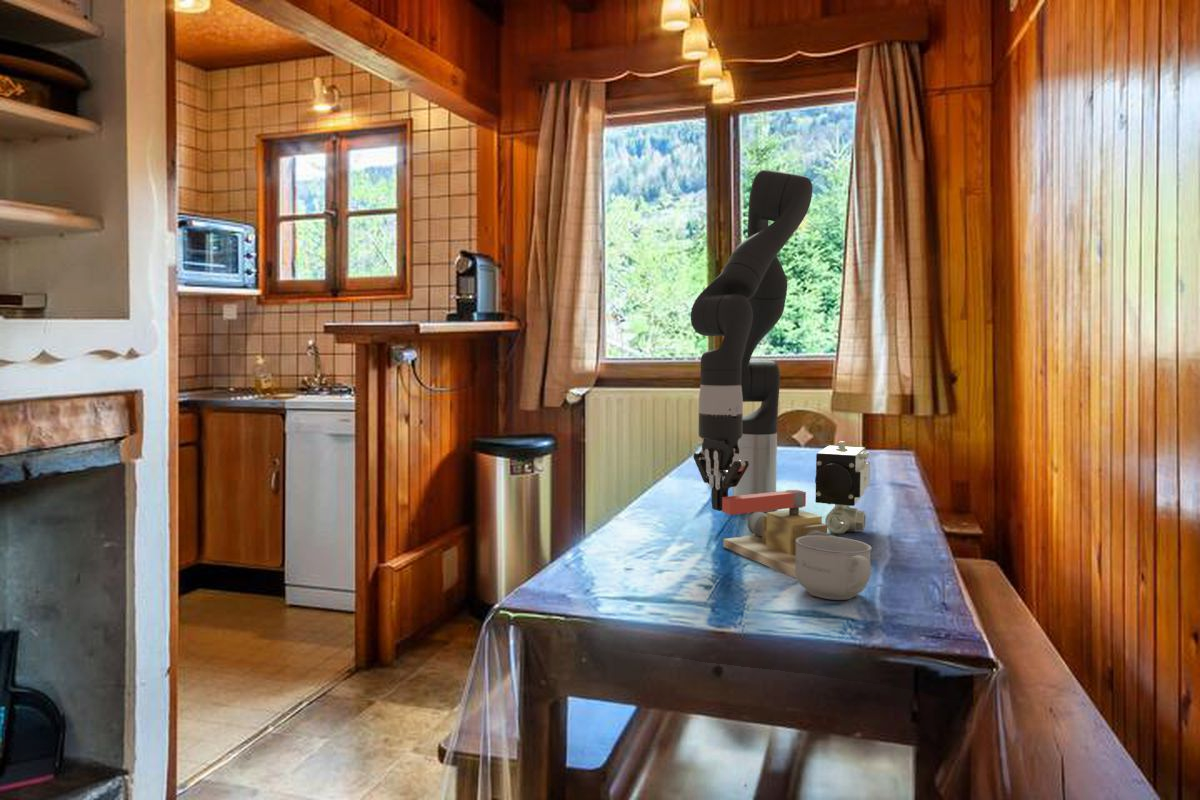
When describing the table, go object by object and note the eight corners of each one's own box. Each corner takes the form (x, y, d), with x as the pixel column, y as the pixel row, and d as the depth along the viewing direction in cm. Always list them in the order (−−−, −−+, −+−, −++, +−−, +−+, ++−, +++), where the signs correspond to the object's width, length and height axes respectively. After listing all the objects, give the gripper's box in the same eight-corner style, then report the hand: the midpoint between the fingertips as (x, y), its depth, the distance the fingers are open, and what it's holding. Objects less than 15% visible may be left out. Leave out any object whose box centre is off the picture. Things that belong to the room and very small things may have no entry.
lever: (795, 503, 137) (795, 489, 137) (807, 506, 134) (807, 492, 134) (720, 511, 131) (721, 496, 131) (731, 515, 128) (731, 500, 128)
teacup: (784, 583, 121) (785, 533, 120) (852, 582, 122) (853, 531, 121) (817, 615, 107) (818, 558, 106) (893, 613, 108) (894, 556, 107)
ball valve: (859, 543, 145) (861, 448, 143) (812, 538, 148) (814, 446, 147) (871, 523, 161) (873, 437, 159) (829, 519, 164) (831, 435, 163)
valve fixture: (723, 546, 142) (723, 498, 142) (789, 538, 149) (790, 491, 148) (797, 578, 123) (798, 522, 123) (869, 567, 129) (871, 514, 129)
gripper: (680, 409, 139) (679, 505, 140) (727, 415, 127) (726, 519, 128) (714, 407, 142) (713, 501, 143) (763, 412, 131) (761, 514, 132)
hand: (719, 509), depth 136 cm, fingers closed
